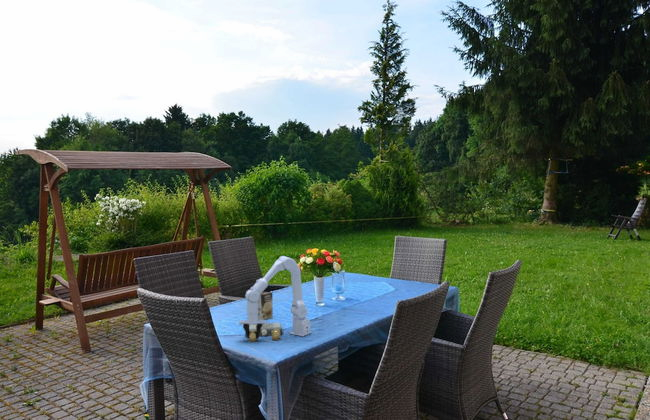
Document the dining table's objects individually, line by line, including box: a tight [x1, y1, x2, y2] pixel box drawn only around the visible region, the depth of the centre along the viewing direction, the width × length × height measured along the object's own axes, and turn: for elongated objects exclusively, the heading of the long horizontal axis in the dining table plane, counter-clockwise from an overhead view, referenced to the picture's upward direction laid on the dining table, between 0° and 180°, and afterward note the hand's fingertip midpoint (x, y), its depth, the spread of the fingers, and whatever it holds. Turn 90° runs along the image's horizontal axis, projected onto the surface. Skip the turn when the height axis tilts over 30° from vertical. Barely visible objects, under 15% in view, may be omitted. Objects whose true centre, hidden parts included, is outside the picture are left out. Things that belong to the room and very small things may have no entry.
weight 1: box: [248, 330, 258, 343], centre depth 251 cm, size 4×4×5 cm
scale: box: [245, 322, 284, 338], centre depth 265 cm, size 14×20×4 cm
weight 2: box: [271, 329, 281, 342], centre depth 253 cm, size 4×4×5 cm
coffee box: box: [258, 291, 274, 320], centre depth 295 cm, size 9×6×16 cm
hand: (253, 338), depth 251 cm, fingers closed on weight 1, 4 cm apart
